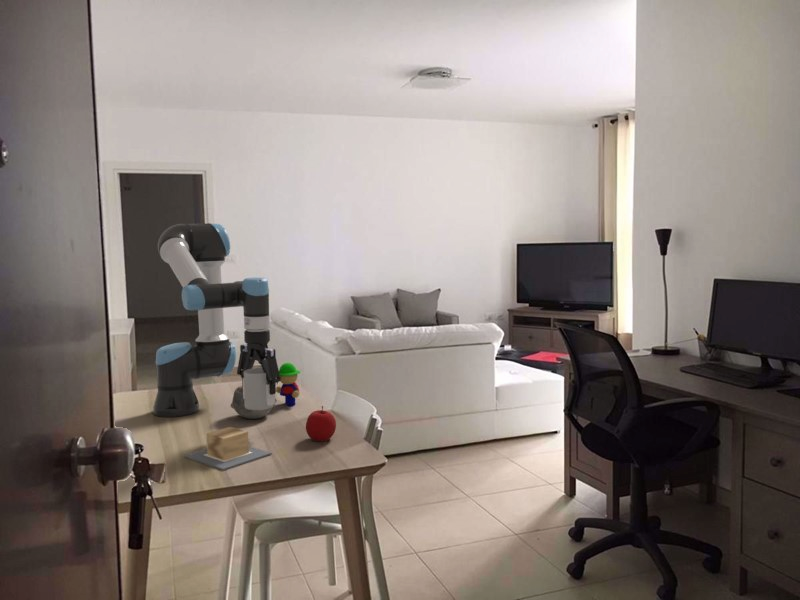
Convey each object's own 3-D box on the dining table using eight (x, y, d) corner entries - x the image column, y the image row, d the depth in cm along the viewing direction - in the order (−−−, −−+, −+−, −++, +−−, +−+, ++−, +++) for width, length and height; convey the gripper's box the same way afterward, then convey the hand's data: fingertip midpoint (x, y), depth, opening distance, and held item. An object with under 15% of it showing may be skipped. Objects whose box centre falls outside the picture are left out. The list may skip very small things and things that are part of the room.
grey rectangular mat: (184, 456, 192) (184, 454, 192) (232, 442, 204) (231, 440, 204) (223, 470, 180) (223, 468, 180) (271, 454, 192) (271, 452, 192)
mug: (275, 408, 207) (274, 372, 205) (246, 411, 204) (245, 375, 202) (269, 398, 218) (268, 364, 216) (241, 400, 215) (240, 366, 214)
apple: (302, 437, 208) (301, 404, 207) (331, 433, 211) (330, 401, 210) (310, 446, 200) (309, 412, 198) (340, 441, 203) (339, 408, 202)
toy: (276, 400, 253) (275, 360, 251) (302, 399, 254) (301, 359, 252) (273, 408, 242) (272, 366, 240) (300, 407, 243) (299, 365, 241)
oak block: (207, 454, 192) (206, 433, 191) (231, 447, 198) (230, 426, 197) (224, 460, 186) (223, 438, 186) (248, 452, 193) (248, 431, 192)
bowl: (260, 408, 242) (259, 380, 241) (286, 416, 231) (285, 387, 230) (224, 417, 232) (223, 387, 231) (249, 425, 221) (248, 395, 220)
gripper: (223, 327, 212) (225, 397, 215) (271, 335, 197) (274, 410, 200) (243, 323, 218) (245, 392, 220) (292, 331, 203) (293, 405, 206)
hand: (259, 401), depth 210 cm, fingers closed on mug, 10 cm apart
